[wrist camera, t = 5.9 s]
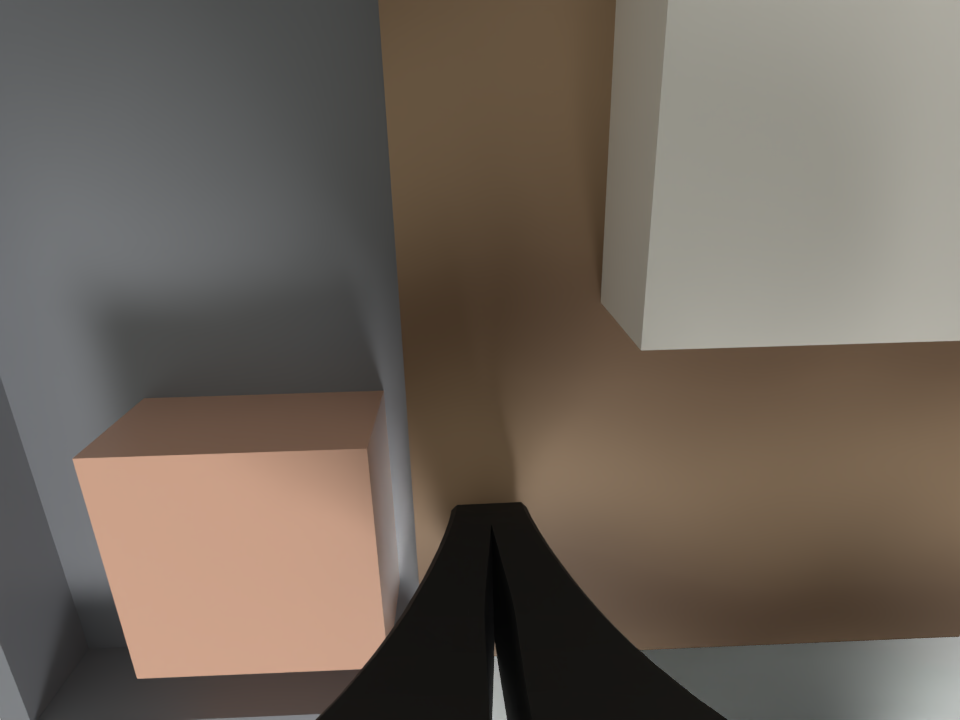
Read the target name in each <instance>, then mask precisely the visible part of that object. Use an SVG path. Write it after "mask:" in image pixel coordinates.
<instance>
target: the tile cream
mask: <svg viewBox="0 0 960 720" xmlns="http://www.w3.org/2000/svg"><path fill="white" fill-rule="evenodd" d="M601 303H602V304H603V306H604V307H605V308H606V309H607V310H608V312H609V313H610V314H611V315H612V316H613V318H614V319H615V320H616V321H617V322H618V324H619V325H620V326H621V327H622V328H623V330H624V331H625V332H626V333H627V334H628V336H629V337H630V338H631V339H632V340H633V342H634V343H635V344H636V345H637V346H638V348H639V349H640V350H673V349H705V348H738V347H770V346H803V345H835V344H868V343H901V342H933V341H960V0H616V12H615V32H614V51H613V70H612V90H611V109H610V129H609V148H608V168H607V187H606V207H605V226H604V246H603V265H602V285H601Z"/></svg>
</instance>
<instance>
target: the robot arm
mask: <svg viewBox="0 0 960 720" xmlns="http://www.w3.org/2000/svg"><path fill="white" fill-rule="evenodd" d="M494 646H495V647H496V653H497V659H498V665H499V672H500V678H501V684H502V690H503V696H504V702H505V709H506V715H507V720H727V719H726V718H724V717H723V716H722V715H720V714H719V713H717V712H716V711H714V710H713V709H712V708H710V707H709V706H707V705H706V704H705V703H703V702H702V701H700V700H699V699H698V698H696V697H695V696H694V695H692V694H691V693H690V692H689V691H687V690H686V689H685V688H684V687H682V686H681V685H680V684H679V683H677V682H676V681H675V680H674V679H672V678H671V677H670V676H669V675H668V674H666V673H665V672H664V671H663V670H661V669H660V668H659V667H658V666H656V665H655V664H654V663H653V662H652V661H651V660H650V659H648V658H647V657H646V656H645V655H644V654H643V653H642V652H641V651H640V650H639V649H638V648H636V647H635V646H634V645H633V644H632V643H631V642H630V641H629V640H628V639H627V638H626V637H625V636H624V635H623V634H622V633H621V632H620V631H619V630H618V629H617V628H616V627H615V626H614V625H613V624H612V623H611V622H610V621H609V620H608V619H607V618H606V617H605V616H604V615H603V613H602V612H601V611H600V610H599V609H598V608H597V607H596V606H595V605H594V603H593V602H592V601H591V600H590V599H589V597H588V596H587V595H586V594H585V593H584V592H583V590H582V589H581V588H580V587H579V586H578V584H577V583H576V582H575V581H574V579H573V578H572V577H571V576H570V574H569V573H568V571H567V570H566V569H565V567H564V566H563V565H562V563H561V562H560V561H559V559H558V558H557V557H556V555H555V554H554V552H553V551H552V549H551V548H550V547H549V545H548V544H547V542H546V540H545V539H544V537H543V536H542V534H541V533H540V531H539V529H538V528H537V526H536V524H535V522H534V521H533V519H532V517H531V515H530V513H529V511H528V509H527V507H526V506H525V505H524V504H523V503H522V502H509V503H487V504H464V505H456V506H455V507H454V508H453V509H452V510H451V514H450V519H449V522H448V525H447V528H446V531H445V533H444V536H443V538H442V541H441V543H440V545H439V548H438V550H437V552H436V554H435V556H434V558H433V560H432V562H431V564H430V566H429V568H428V570H427V572H426V574H425V576H424V578H423V580H422V581H421V583H420V585H419V587H418V588H417V590H416V592H415V593H414V595H413V597H412V598H411V600H410V602H409V603H408V605H407V607H406V608H405V610H404V612H403V613H402V615H401V616H400V618H399V619H398V621H397V622H396V624H395V625H394V627H393V628H392V630H391V631H390V632H389V634H388V635H387V637H386V638H385V639H384V641H383V642H382V643H381V645H380V646H379V648H378V649H377V650H376V652H375V653H374V654H373V655H372V657H371V658H370V659H369V660H368V662H367V663H366V664H365V665H364V666H363V668H362V669H361V670H360V671H359V673H358V674H357V675H356V676H355V677H354V679H353V680H352V681H351V682H350V683H349V685H348V686H347V687H346V688H345V689H344V690H343V691H342V693H341V694H340V695H339V696H338V697H337V698H336V699H335V700H334V701H333V702H332V703H331V704H330V705H329V706H328V707H327V708H326V709H325V710H324V711H323V712H322V713H321V714H320V715H319V717H318V718H317V719H316V720H492V704H493V675H494Z"/></svg>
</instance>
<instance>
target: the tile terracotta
mask: <svg viewBox="0 0 960 720" xmlns="http://www.w3.org/2000/svg"><path fill="white" fill-rule="evenodd" d="M72 460H73V463H74V466H75V470H76V473H77V477H78V480H79V483H80V487H81V490H82V494H83V497H84V500H85V504H86V507H87V510H88V514H89V517H90V521H91V524H92V527H93V531H94V534H95V538H96V541H97V544H98V548H99V551H100V555H101V558H102V561H103V565H104V568H105V571H106V575H107V578H108V582H109V585H110V588H111V592H112V595H113V599H114V602H115V605H116V609H117V612H118V616H119V619H120V622H121V626H122V629H123V633H124V636H125V639H126V643H127V646H128V649H129V653H130V656H131V660H132V663H133V666H134V670H135V673H136V677H137V679H144V678H167V677H191V676H214V675H237V674H261V673H284V672H308V671H331V670H354V669H362V668H363V666H364V665H365V664H366V663H367V662H368V660H369V659H370V658H371V657H372V655H373V654H374V653H375V652H376V650H377V649H378V648H379V646H380V645H381V643H382V642H383V641H384V639H385V638H386V637H387V635H388V634H389V632H390V631H391V630H392V628H393V627H394V623H395V615H396V608H397V600H398V592H399V585H400V577H399V565H398V553H397V541H396V529H395V517H394V506H393V494H392V482H391V470H390V458H389V446H388V434H387V422H386V410H385V398H384V391H356V392H325V393H294V394H262V395H231V396H200V397H169V398H144V399H142V400H141V401H140V402H139V403H138V404H136V405H135V406H134V407H133V408H132V409H131V410H129V411H128V412H127V413H126V414H125V415H123V416H122V417H121V418H120V419H119V420H118V421H116V422H115V423H114V424H113V425H112V426H110V427H109V428H108V429H107V430H106V431H104V432H103V433H102V434H101V435H100V436H99V437H97V438H96V439H95V440H94V441H93V442H91V443H90V444H89V445H88V446H87V447H86V448H84V449H83V450H82V451H81V452H80V453H78V454H77V455H76V456H75V457H74V458H72Z"/></svg>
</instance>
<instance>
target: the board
mask: <svg viewBox="0 0 960 720" xmlns="http://www.w3.org/2000/svg"><path fill="white" fill-rule="evenodd" d="M378 5H379V19H380V34H381V48H382V62H383V76H384V91H385V105H386V119H387V134H388V148H389V162H390V176H391V191H392V205H393V219H394V234H395V248H396V262H397V277H398V291H399V305H400V319H401V334H402V348H403V362H404V377H405V391H406V405H407V420H408V434H409V448H410V462H411V477H412V491H413V505H414V520H415V534H416V548H417V562H418V577H419V585H420V583H421V581H422V580H423V578H424V576H425V574H426V572H427V570H428V568H429V566H430V564H431V562H432V560H433V558H434V556H435V554H436V552H437V550H438V548H439V545H440V543H441V541H442V538H443V536H444V533H445V531H446V528H447V525H448V522H449V519H450V514H451V510H452V509H453V508H454V507H455V506H456V505H464V504H487V503H509V502H522V503H523V504H524V505H525V506H526V507H527V509H528V511H529V513H530V515H531V517H532V519H533V521H534V522H535V524H536V526H537V528H538V529H539V531H540V533H541V534H542V536H543V537H544V539H545V540H546V542H547V544H548V545H549V547H550V548H551V549H552V551H553V552H554V554H555V555H556V557H557V558H558V559H559V561H560V562H561V563H562V565H563V566H564V567H565V569H566V570H567V571H568V573H569V574H570V576H571V577H572V578H573V579H574V581H575V582H576V583H577V584H578V586H579V587H580V588H581V589H582V590H583V592H584V593H585V594H586V595H587V596H588V597H589V599H590V600H591V601H592V602H593V603H594V605H595V606H596V607H597V608H598V609H599V610H600V611H601V612H602V613H603V615H604V616H605V617H606V618H607V619H608V620H609V621H610V622H611V623H612V624H613V625H614V626H615V627H616V628H617V629H618V630H619V631H620V632H621V633H622V634H623V635H624V636H625V637H626V638H627V639H628V640H629V641H630V642H631V643H632V644H633V645H634V646H635V647H636V648H638V649H639V650H652V649H676V648H700V647H723V646H747V645H770V644H794V643H818V642H841V641H865V640H889V639H912V638H936V637H959V636H960V341H933V342H901V343H868V344H835V345H803V346H770V347H738V348H705V349H673V350H640V349H639V348H638V346H637V345H636V344H635V343H634V342H633V340H632V339H631V338H630V337H629V336H628V334H627V333H626V332H625V331H624V330H623V328H622V327H621V326H620V325H619V324H618V322H617V321H616V320H615V319H614V318H613V316H612V315H611V314H610V313H609V312H608V310H607V309H606V308H605V307H604V306H603V304H602V303H601V285H602V265H603V246H604V226H605V207H606V187H607V168H608V148H609V129H610V109H611V90H612V70H613V51H614V32H615V12H616V0H378ZM494 656H497V653H496V647H495V646H494Z"/></svg>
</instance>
